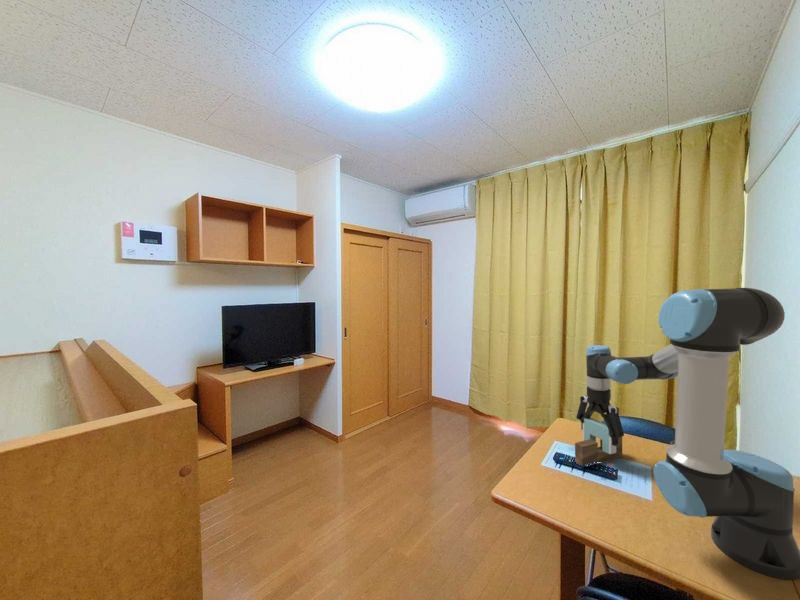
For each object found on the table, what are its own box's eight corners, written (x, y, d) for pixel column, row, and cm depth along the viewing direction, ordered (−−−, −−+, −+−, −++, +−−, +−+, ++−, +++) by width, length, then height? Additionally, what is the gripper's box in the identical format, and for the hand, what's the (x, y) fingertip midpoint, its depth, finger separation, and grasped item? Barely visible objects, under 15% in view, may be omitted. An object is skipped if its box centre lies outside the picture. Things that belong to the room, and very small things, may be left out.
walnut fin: (622, 456, 121) (622, 436, 121) (582, 468, 114) (582, 446, 114) (614, 452, 124) (614, 432, 123) (575, 464, 117) (575, 442, 117)
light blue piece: (614, 452, 115) (614, 427, 114) (608, 453, 114) (608, 429, 113) (590, 439, 124) (589, 417, 124) (584, 441, 123) (584, 418, 123)
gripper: (637, 395, 108) (637, 459, 109) (579, 377, 130) (580, 431, 131) (621, 399, 106) (621, 464, 107) (565, 380, 127) (566, 434, 128)
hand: (598, 445), depth 119 cm, fingers closed on light blue piece, 10 cm apart
